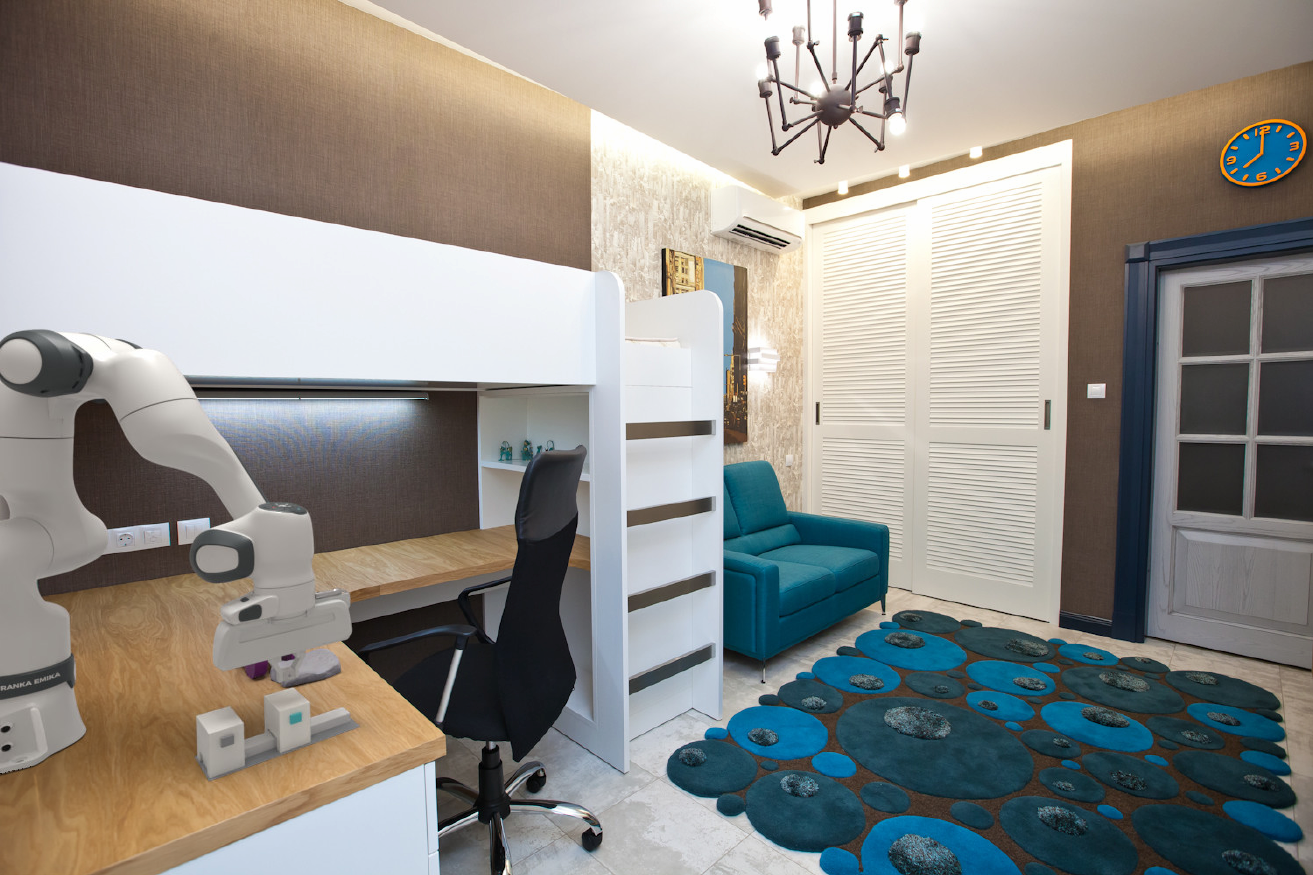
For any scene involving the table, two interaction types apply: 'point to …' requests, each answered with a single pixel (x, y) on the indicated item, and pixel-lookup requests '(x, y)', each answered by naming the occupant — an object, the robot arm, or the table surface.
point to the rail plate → (266, 748)
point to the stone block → (311, 667)
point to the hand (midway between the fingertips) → (287, 679)
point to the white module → (287, 718)
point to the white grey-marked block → (220, 741)
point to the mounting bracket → (263, 667)
